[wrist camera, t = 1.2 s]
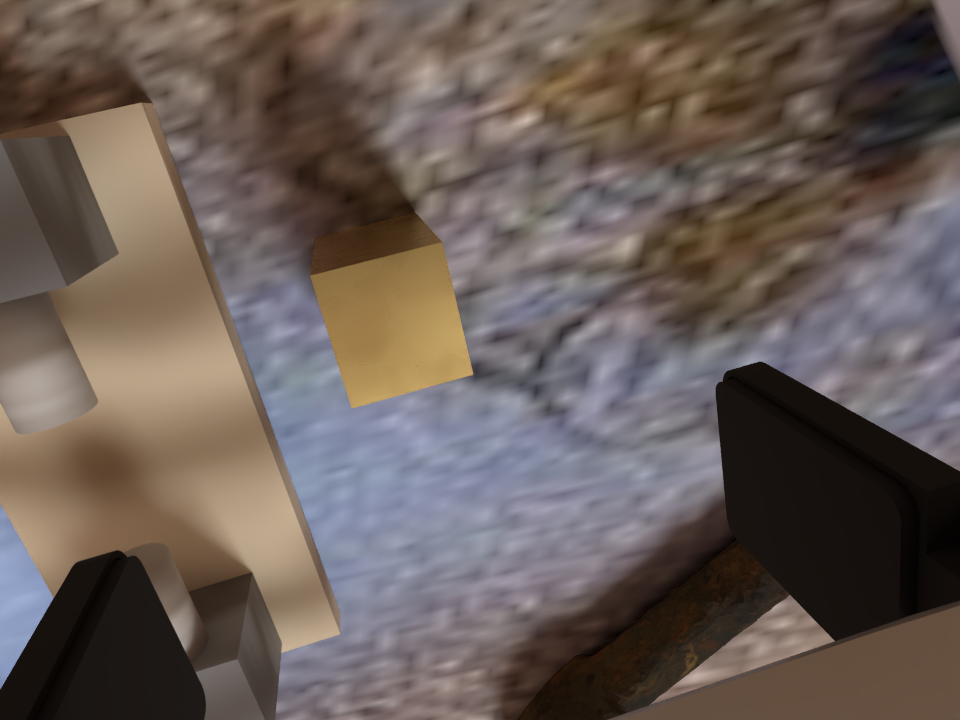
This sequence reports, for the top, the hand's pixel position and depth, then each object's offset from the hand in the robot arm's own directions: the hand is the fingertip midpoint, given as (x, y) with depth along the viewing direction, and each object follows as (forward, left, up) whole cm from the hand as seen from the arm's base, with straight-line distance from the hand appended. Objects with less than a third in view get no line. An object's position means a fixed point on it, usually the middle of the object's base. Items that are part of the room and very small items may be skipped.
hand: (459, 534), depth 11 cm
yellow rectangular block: (0, 0, -18) cm, 18 cm away
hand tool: (+22, +9, -18) cm, 30 cm away
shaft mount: (+3, -11, -18) cm, 21 cm away
